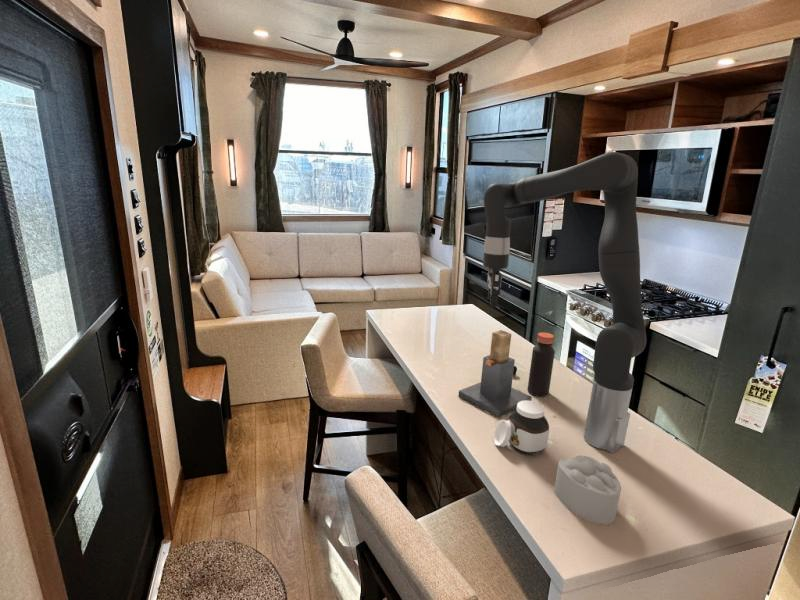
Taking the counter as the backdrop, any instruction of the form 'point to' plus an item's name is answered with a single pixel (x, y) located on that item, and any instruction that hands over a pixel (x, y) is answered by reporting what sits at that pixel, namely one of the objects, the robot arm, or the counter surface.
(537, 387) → the bottle
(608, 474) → the lumpy-topped squat cylinder
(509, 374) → the metal sleeve stand
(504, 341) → the oak post
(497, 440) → the spread jar
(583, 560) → the counter surface
